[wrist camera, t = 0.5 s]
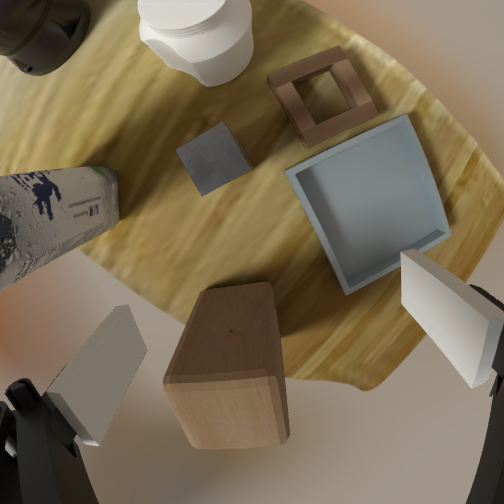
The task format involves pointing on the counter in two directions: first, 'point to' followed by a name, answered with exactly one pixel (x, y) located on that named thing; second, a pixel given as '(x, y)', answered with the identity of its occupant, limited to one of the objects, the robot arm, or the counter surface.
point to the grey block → (214, 158)
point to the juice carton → (52, 215)
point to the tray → (371, 201)
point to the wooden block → (230, 371)
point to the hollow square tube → (345, 80)
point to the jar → (200, 36)
